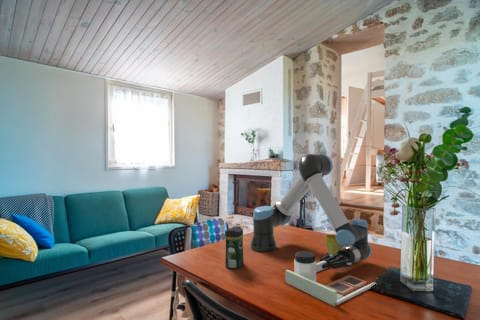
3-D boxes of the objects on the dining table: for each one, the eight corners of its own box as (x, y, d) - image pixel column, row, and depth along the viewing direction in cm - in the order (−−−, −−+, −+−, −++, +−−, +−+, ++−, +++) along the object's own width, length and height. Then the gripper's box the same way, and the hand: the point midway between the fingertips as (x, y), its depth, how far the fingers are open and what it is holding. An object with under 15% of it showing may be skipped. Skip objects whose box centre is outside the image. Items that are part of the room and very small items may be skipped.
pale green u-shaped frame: (327, 267, 135) (327, 256, 135) (376, 285, 116) (376, 272, 116) (285, 282, 119) (285, 270, 119) (334, 306, 100) (334, 292, 100)
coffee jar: (231, 260, 144) (230, 224, 144) (245, 263, 141) (245, 225, 141) (222, 267, 135) (222, 229, 135) (237, 270, 132) (237, 230, 132)
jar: (319, 286, 115) (319, 256, 115) (301, 288, 113) (301, 258, 113) (308, 277, 124) (308, 249, 124) (291, 279, 122) (291, 251, 122)
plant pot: (342, 251, 157) (342, 234, 157) (347, 258, 147) (347, 239, 147) (323, 251, 158) (323, 233, 158) (327, 257, 148) (327, 239, 148)
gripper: (361, 268, 128) (328, 281, 114) (336, 259, 138) (303, 271, 124) (360, 251, 128) (328, 263, 114) (336, 244, 138) (303, 254, 124)
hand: (315, 267), depth 119 cm, fingers closed
